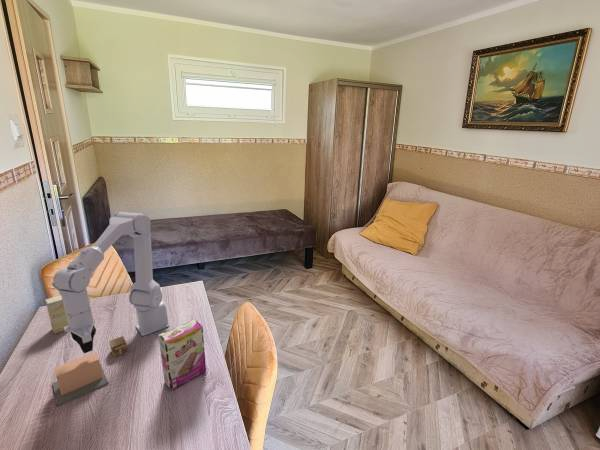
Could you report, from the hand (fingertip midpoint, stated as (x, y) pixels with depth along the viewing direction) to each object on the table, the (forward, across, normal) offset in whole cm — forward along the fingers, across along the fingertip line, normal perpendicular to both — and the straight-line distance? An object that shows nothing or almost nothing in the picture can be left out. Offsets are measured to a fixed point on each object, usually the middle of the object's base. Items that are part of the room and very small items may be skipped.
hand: (87, 350), depth 93 cm
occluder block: (+9, +1, -3) cm, 9 cm away
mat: (+9, +1, -3) cm, 10 cm away
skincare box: (+10, -34, -4) cm, 36 cm away
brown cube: (+9, -7, +8) cm, 15 cm away
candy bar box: (+10, +18, +21) cm, 29 cm away
